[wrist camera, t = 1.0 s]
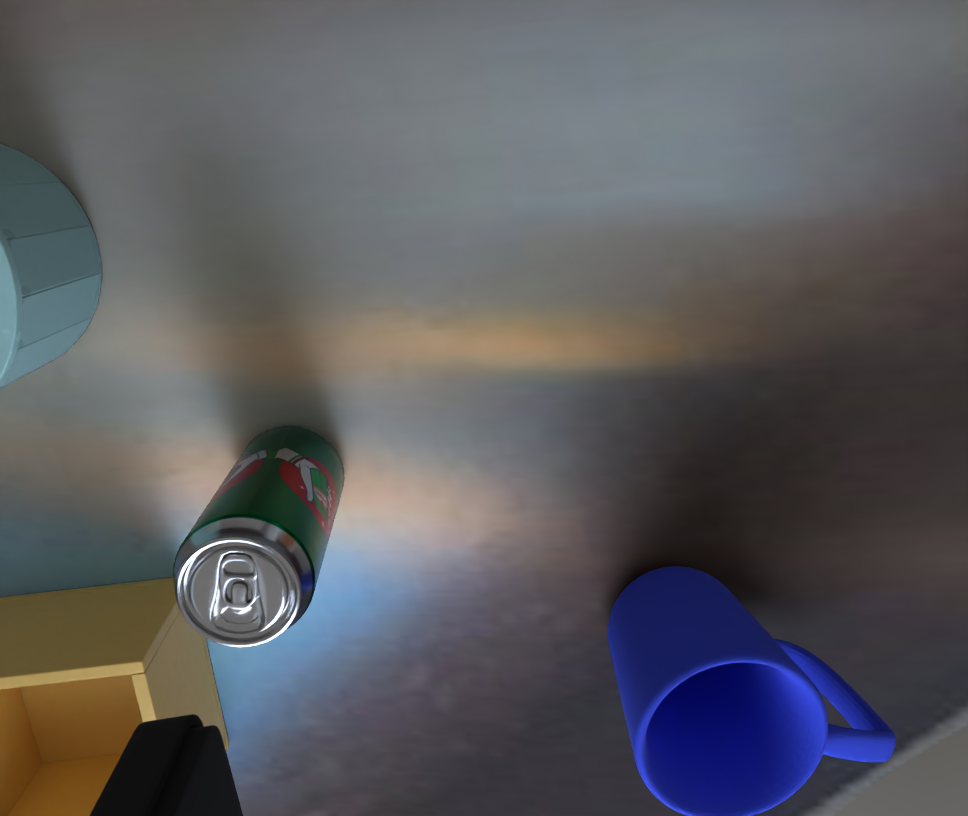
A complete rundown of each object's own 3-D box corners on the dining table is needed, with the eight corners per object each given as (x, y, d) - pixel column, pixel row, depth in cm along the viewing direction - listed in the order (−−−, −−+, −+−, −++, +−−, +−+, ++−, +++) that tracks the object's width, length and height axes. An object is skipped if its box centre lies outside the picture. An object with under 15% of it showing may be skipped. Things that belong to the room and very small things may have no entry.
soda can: (241, 516, 40) (165, 654, 29) (240, 419, 39) (160, 523, 28) (344, 521, 41) (309, 659, 29) (347, 424, 40) (312, 530, 28)
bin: (-13, 598, 41) (-108, 690, 34) (192, 574, 41) (141, 660, 34) (38, 766, 44) (-39, 884, 37) (229, 743, 44) (190, 855, 37)
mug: (783, 701, 46) (876, 844, 36) (574, 670, 44) (614, 810, 35) (830, 570, 43) (943, 685, 34) (612, 533, 42) (665, 642, 32)
